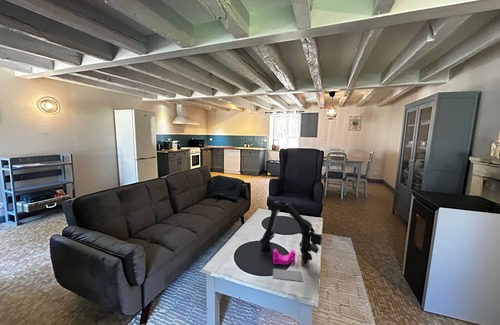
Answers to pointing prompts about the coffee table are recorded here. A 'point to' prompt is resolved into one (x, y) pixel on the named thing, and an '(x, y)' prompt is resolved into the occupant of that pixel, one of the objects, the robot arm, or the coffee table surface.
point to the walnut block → (303, 262)
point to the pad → (287, 275)
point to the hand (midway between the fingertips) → (304, 262)
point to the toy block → (283, 257)
